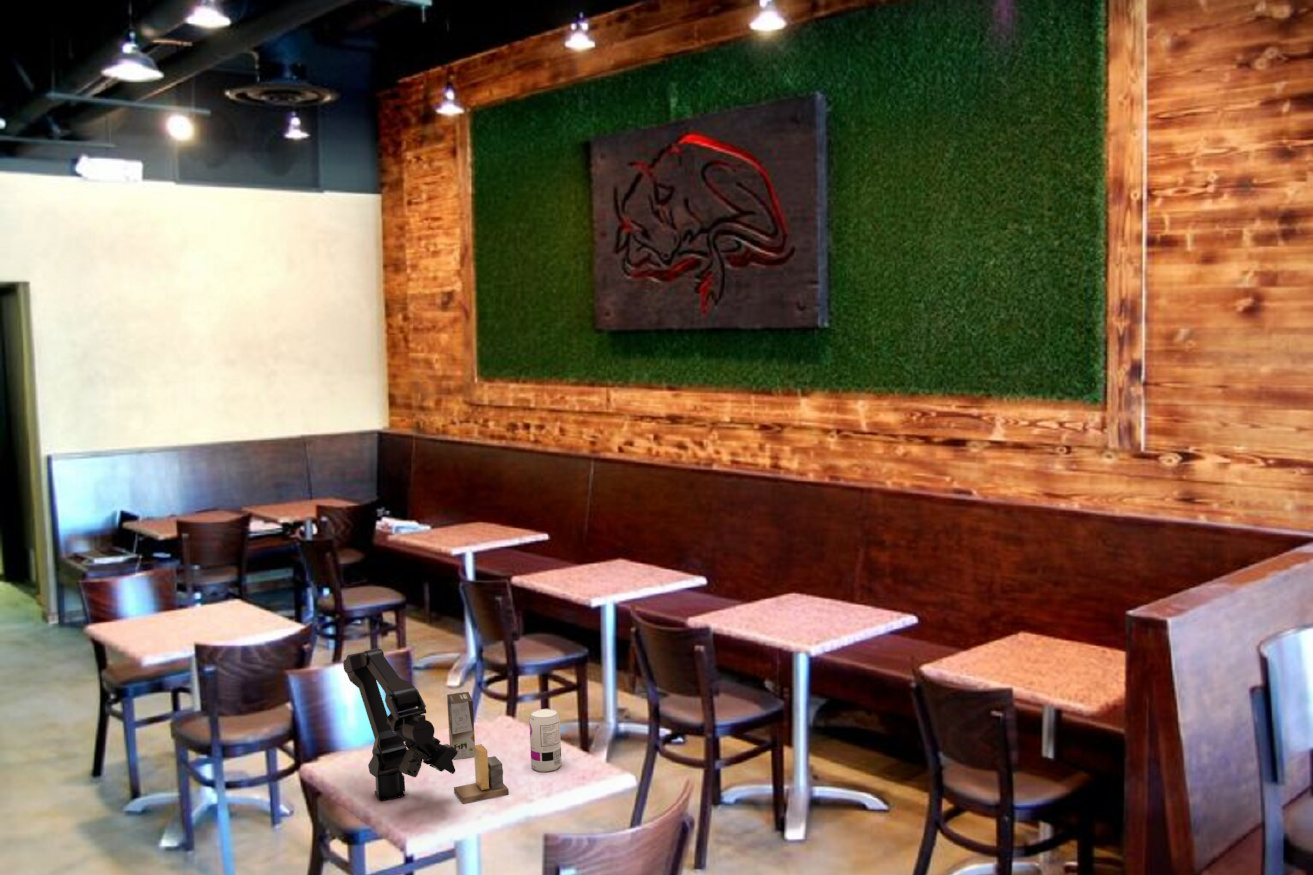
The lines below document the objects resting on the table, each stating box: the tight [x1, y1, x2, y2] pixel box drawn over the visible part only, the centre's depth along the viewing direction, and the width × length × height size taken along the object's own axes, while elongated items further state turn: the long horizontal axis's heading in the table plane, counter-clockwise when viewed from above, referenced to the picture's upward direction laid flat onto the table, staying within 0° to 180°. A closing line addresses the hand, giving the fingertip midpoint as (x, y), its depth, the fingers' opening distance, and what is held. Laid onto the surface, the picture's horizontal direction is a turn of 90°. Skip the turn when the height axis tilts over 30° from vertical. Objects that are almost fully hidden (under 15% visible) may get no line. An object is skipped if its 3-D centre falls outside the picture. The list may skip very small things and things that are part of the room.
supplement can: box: [528, 708, 562, 773], centre depth 322 cm, size 8×8×15 cm
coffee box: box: [446, 691, 476, 760], centre depth 334 cm, size 9×6×16 cm
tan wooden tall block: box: [474, 744, 490, 790], centre depth 306 cm, size 6×5×10 cm
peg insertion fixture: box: [453, 755, 510, 804], centre depth 305 cm, size 12×8×8 cm, turn 115°
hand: (453, 772), depth 302 cm, fingers closed
